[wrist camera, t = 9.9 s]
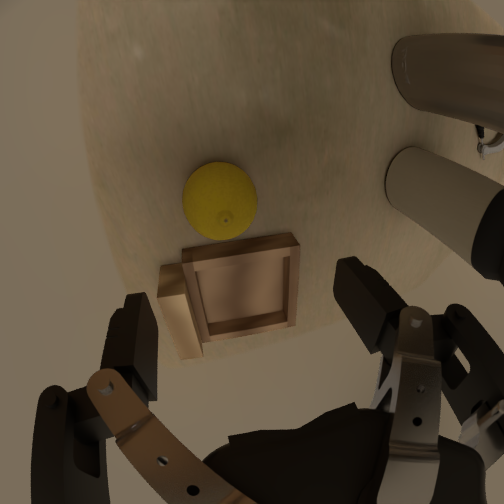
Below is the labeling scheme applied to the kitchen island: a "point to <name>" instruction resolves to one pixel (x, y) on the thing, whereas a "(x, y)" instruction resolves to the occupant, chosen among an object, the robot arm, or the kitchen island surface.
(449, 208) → the travel mug
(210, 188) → the lemon
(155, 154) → the kitchen island surface
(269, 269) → the walnut tray
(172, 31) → the kitchen island surface
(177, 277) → the oak stop
